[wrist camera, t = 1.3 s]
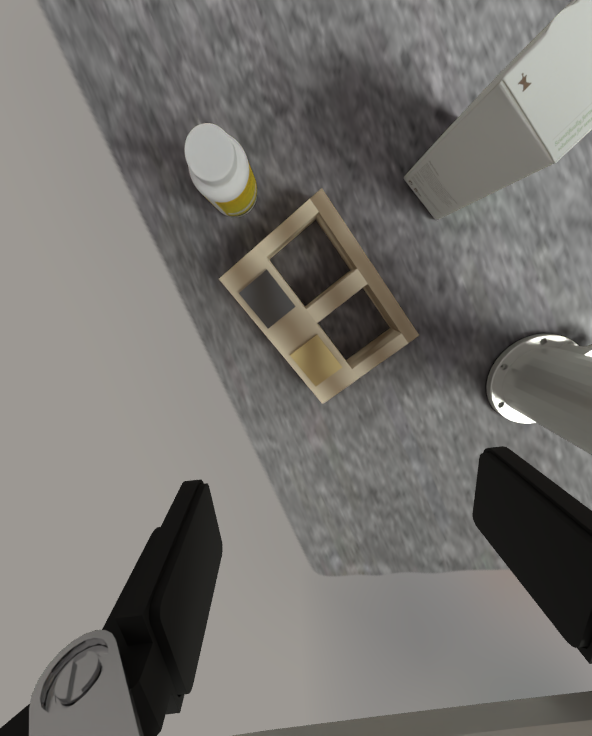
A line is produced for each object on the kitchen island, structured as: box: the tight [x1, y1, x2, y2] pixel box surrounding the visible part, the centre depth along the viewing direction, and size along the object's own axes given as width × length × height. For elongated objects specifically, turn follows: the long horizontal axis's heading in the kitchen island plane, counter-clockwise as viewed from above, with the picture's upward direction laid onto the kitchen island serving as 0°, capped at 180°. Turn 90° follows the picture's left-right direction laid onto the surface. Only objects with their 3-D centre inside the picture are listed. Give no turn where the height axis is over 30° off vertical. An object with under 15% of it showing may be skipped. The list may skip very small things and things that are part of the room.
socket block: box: [219, 188, 419, 404], centre depth 33 cm, size 14×19×4 cm
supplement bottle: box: [184, 123, 257, 217], centre depth 27 cm, size 5×5×10 cm
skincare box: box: [404, 0, 592, 220], centre depth 24 cm, size 8×7×16 cm
